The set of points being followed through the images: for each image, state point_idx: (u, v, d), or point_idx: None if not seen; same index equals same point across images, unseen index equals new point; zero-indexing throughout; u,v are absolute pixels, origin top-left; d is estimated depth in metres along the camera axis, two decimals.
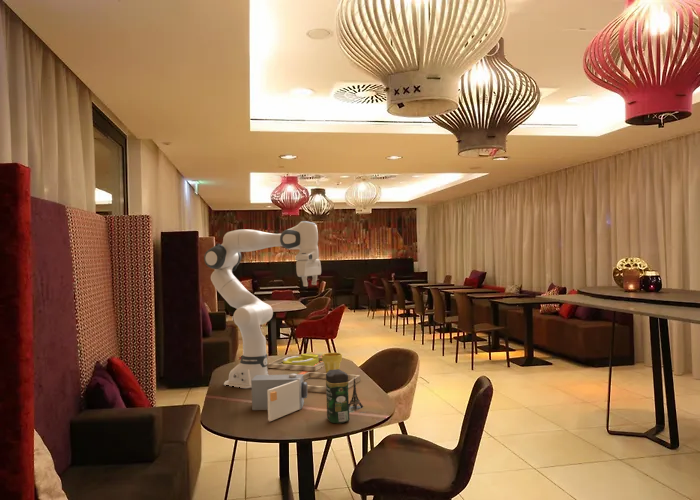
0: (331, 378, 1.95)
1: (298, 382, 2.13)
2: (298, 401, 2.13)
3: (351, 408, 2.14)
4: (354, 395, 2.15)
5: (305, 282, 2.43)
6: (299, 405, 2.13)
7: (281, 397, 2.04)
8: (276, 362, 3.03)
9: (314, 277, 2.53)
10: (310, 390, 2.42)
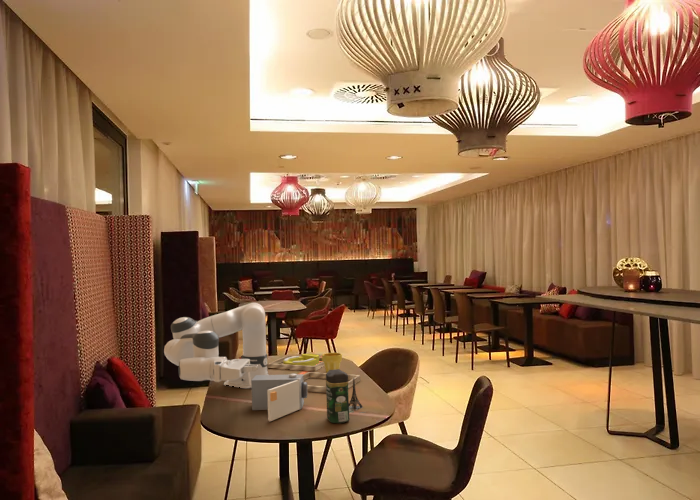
0: (331, 378, 1.95)
1: (298, 382, 2.13)
2: (298, 401, 2.13)
3: (350, 408, 2.14)
4: (353, 395, 2.15)
5: (251, 368, 2.01)
6: (299, 405, 2.13)
7: (281, 397, 2.04)
8: (276, 362, 3.03)
9: None
10: (310, 390, 2.42)
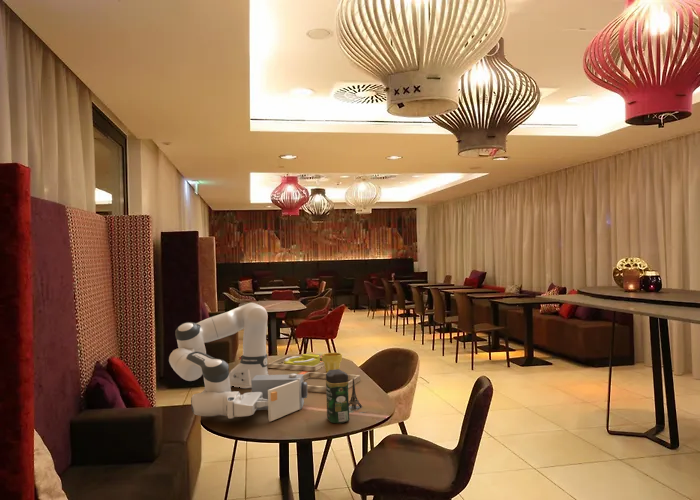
0: (331, 378, 1.95)
1: (298, 382, 2.13)
2: (298, 401, 2.13)
3: (350, 408, 2.14)
4: (353, 395, 2.14)
5: (264, 402, 2.00)
6: (299, 405, 2.13)
7: (281, 397, 2.04)
8: (276, 362, 3.03)
9: None
10: (310, 390, 2.42)
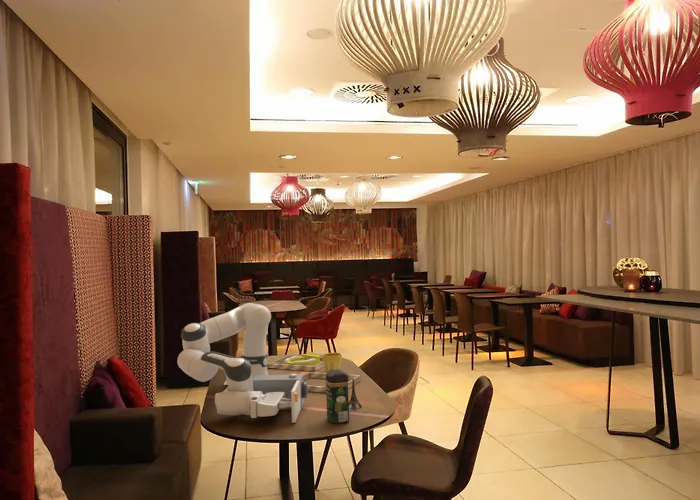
0: (331, 378, 1.95)
1: (299, 382, 2.13)
2: (300, 401, 2.13)
3: (349, 408, 2.14)
4: (353, 395, 2.14)
5: (287, 403, 1.99)
6: (300, 405, 2.13)
7: None
8: (276, 362, 3.03)
9: (284, 401, 2.03)
10: (310, 390, 2.42)
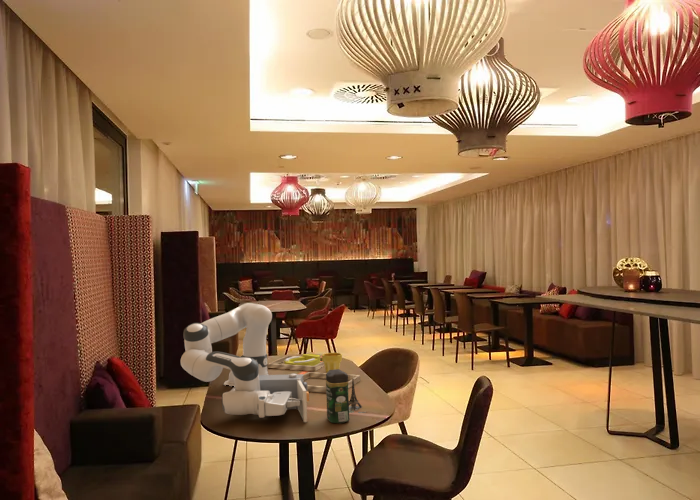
0: (331, 378, 1.95)
1: None
2: None
3: (349, 409, 2.13)
4: (353, 395, 2.14)
5: (295, 402, 2.00)
6: None
7: None
8: (276, 362, 3.03)
9: (291, 401, 2.03)
10: (310, 390, 2.42)
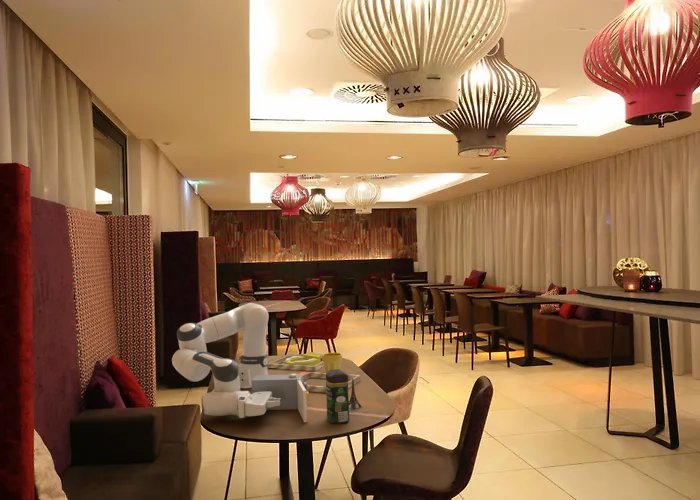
0: (331, 378, 1.95)
1: None
2: None
3: (349, 409, 2.13)
4: (353, 395, 2.14)
5: (274, 402, 2.00)
6: None
7: None
8: (276, 362, 3.03)
9: (272, 400, 2.04)
10: (310, 390, 2.42)
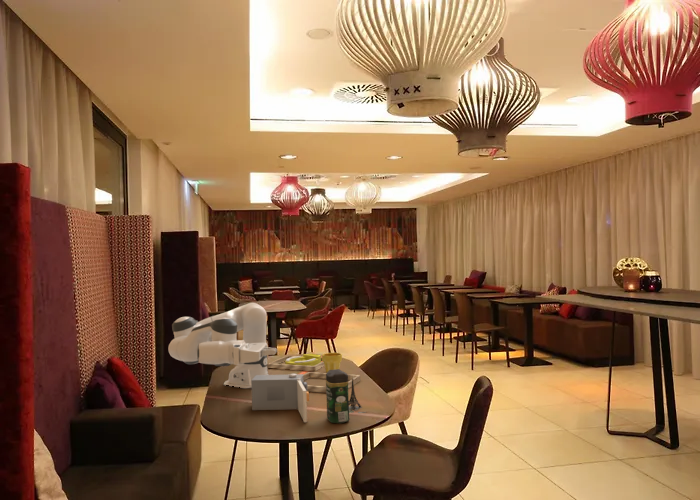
0: (331, 378, 1.95)
1: None
2: None
3: (349, 409, 2.13)
4: (352, 395, 2.14)
5: (270, 351, 2.00)
6: None
7: None
8: (276, 362, 3.03)
9: (267, 350, 2.04)
10: (310, 390, 2.42)
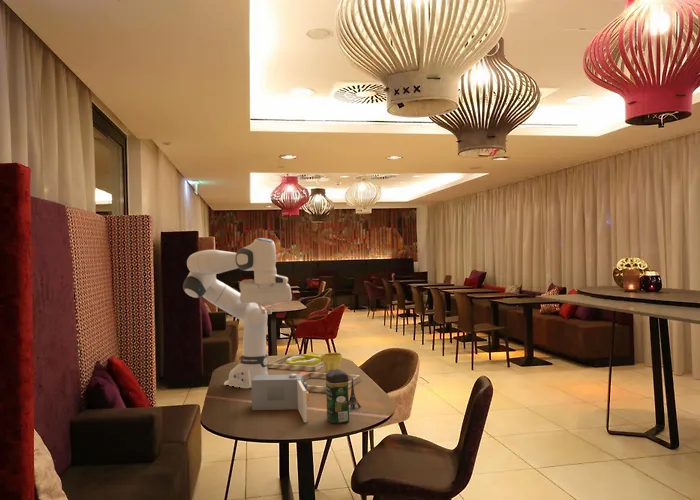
0: (331, 378, 1.95)
1: None
2: None
3: (349, 409, 2.13)
4: (352, 395, 2.14)
5: None
6: None
7: None
8: (276, 362, 3.03)
9: None
10: (310, 390, 2.42)
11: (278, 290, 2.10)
